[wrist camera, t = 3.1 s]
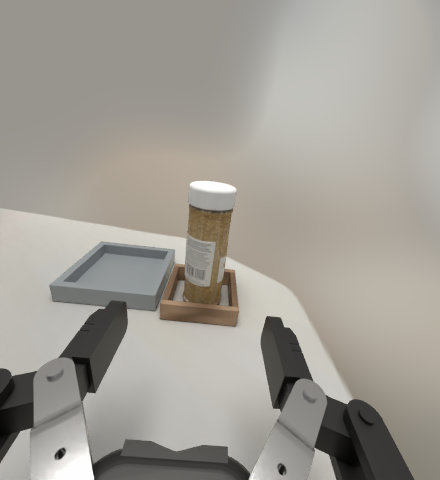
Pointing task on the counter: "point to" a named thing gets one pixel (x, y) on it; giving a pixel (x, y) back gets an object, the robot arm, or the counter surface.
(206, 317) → the wooden picture frame
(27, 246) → the counter surface
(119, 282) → the slate tray
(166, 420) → the counter surface
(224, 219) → the sprinkles bottle
